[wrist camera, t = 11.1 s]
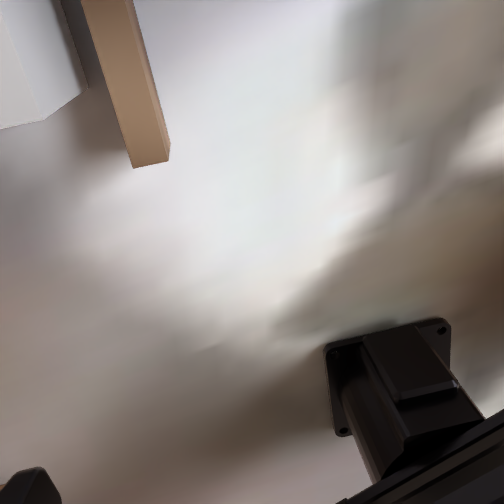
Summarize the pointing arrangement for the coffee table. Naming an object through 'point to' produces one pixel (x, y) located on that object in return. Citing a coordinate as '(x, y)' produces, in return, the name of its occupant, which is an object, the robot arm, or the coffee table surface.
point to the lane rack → (128, 79)
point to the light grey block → (36, 61)
